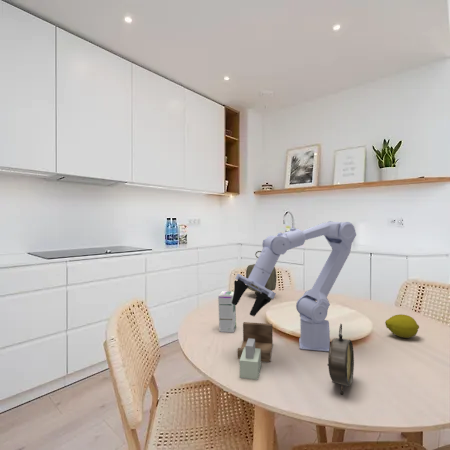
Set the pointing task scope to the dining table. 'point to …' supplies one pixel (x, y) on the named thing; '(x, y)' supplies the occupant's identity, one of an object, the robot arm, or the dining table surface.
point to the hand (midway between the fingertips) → (242, 309)
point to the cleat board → (258, 339)
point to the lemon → (402, 326)
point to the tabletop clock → (270, 283)
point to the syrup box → (226, 312)
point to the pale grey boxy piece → (250, 361)
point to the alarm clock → (341, 361)
